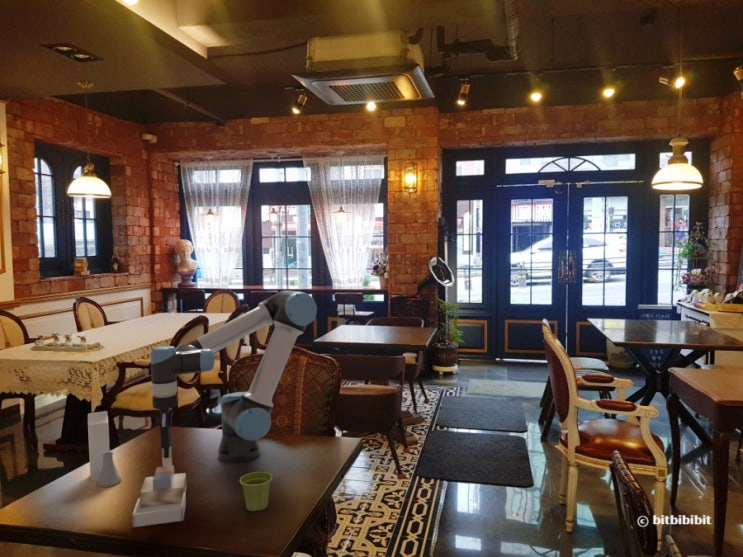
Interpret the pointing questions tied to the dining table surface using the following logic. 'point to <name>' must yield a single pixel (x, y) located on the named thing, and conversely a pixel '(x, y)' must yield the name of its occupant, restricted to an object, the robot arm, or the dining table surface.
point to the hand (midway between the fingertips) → (167, 466)
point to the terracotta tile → (165, 470)
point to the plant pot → (256, 490)
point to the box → (158, 513)
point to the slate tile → (162, 481)
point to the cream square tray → (163, 492)
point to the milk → (97, 441)
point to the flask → (108, 472)
